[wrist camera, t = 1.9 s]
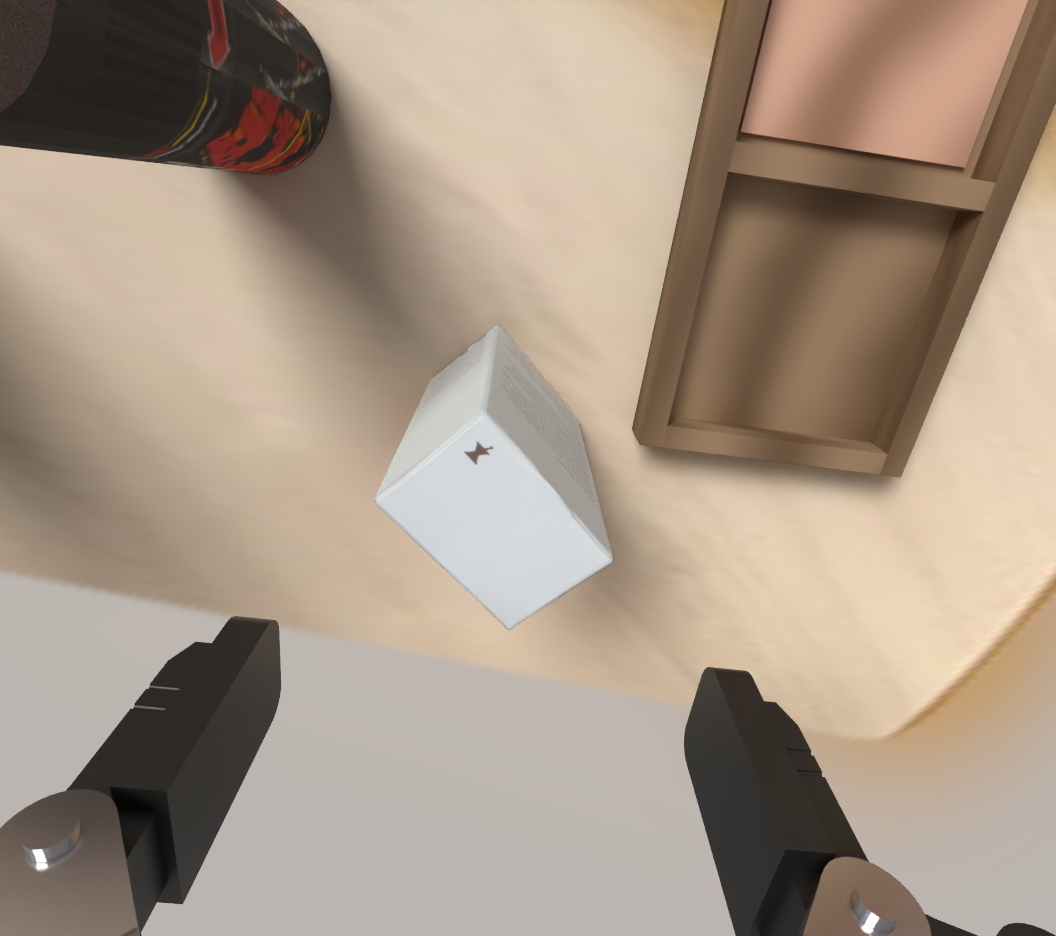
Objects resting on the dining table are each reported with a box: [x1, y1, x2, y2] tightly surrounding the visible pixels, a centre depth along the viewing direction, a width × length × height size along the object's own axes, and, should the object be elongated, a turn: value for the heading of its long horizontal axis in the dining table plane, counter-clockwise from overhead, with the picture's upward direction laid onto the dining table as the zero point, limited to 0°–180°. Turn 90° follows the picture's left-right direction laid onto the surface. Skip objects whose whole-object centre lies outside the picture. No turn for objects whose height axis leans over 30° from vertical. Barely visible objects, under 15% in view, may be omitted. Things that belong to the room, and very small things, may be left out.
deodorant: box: [0, 0, 331, 174], centre depth 16 cm, size 6×6×15 cm
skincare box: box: [375, 324, 614, 630], centre depth 23 cm, size 6×4×12 cm
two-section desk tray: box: [632, 0, 1056, 477], centre depth 24 cm, size 12×23×2 cm, turn 172°
